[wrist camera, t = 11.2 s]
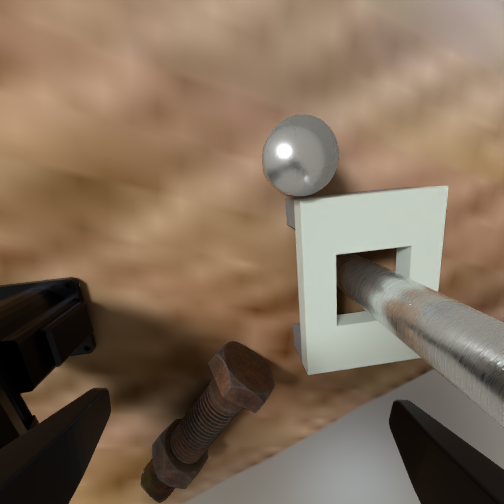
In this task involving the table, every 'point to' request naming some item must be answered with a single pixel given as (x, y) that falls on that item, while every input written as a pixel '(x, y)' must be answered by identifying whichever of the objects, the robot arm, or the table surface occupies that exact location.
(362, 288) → the long pin
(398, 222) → the square washer plate
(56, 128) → the table surface
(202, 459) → the bolt
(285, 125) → the short stub
